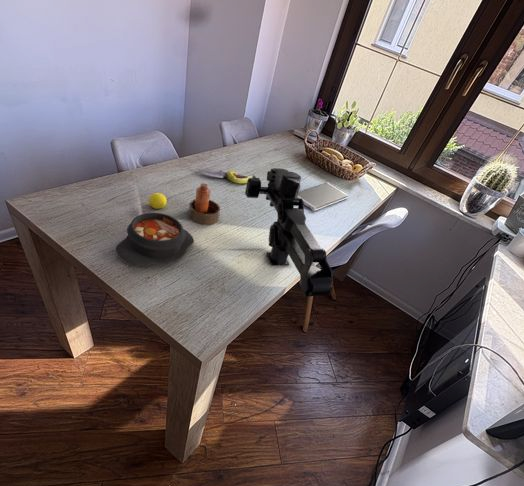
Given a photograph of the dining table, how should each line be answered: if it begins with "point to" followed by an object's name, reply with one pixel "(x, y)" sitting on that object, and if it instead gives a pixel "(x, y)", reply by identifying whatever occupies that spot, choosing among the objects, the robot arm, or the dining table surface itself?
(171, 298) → the dining table surface
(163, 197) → the lemon
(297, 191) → the robot arm
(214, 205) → the bowl
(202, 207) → the bottle
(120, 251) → the casserole
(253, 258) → the dining table surface
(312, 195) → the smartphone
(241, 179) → the knife
